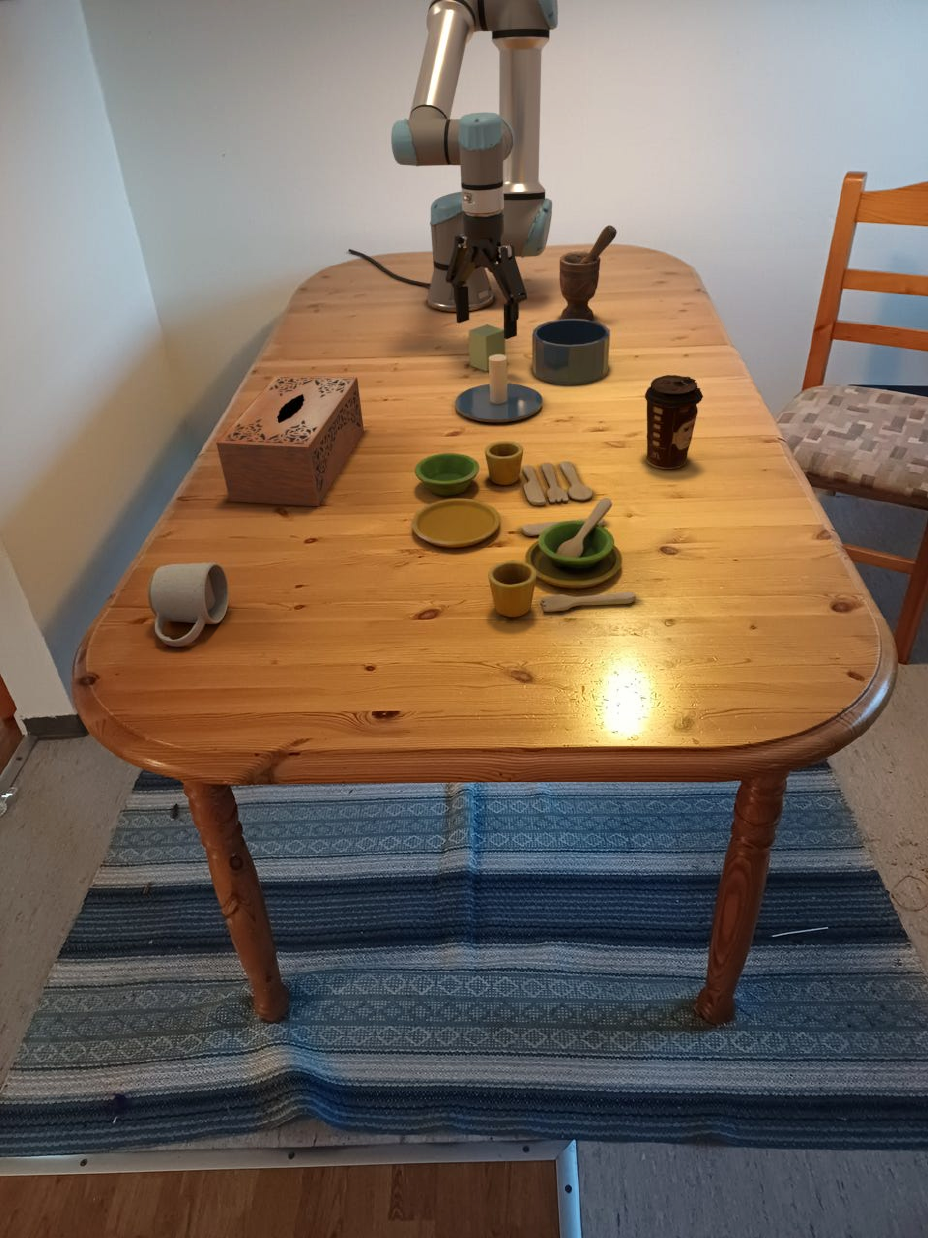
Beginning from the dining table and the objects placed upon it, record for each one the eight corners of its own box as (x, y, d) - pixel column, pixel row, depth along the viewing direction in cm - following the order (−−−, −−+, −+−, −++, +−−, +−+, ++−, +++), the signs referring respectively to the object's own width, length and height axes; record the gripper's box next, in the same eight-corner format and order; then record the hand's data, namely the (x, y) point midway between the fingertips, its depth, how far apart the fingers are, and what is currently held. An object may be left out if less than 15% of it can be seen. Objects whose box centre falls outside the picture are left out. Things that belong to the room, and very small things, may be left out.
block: (469, 365, 179) (468, 330, 175) (488, 358, 182) (487, 323, 177) (486, 371, 176) (485, 336, 172) (505, 364, 179) (504, 329, 174)
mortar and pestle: (611, 312, 200) (616, 217, 188) (611, 326, 193) (617, 228, 181) (558, 313, 201) (560, 218, 189) (558, 326, 194) (559, 229, 182)
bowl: (516, 371, 176) (516, 333, 171) (568, 350, 183) (569, 313, 179) (571, 391, 167) (572, 352, 162) (623, 368, 174) (626, 330, 170)
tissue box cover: (318, 506, 137) (308, 446, 131) (230, 501, 140) (216, 442, 133) (364, 431, 157) (357, 377, 151) (286, 428, 160) (276, 374, 153)
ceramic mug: (175, 597, 119) (160, 549, 115) (234, 599, 118) (221, 551, 114) (143, 649, 111) (126, 599, 106) (207, 651, 110) (192, 602, 105)
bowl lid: (437, 407, 164) (434, 358, 158) (500, 381, 172) (499, 334, 166) (497, 433, 154) (495, 382, 149) (560, 405, 162) (561, 355, 157)
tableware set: (644, 610, 113) (648, 568, 109) (424, 633, 111) (420, 591, 107) (576, 459, 145) (577, 423, 141) (405, 475, 144) (402, 439, 140)
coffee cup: (698, 452, 145) (707, 375, 138) (691, 475, 139) (700, 397, 131) (644, 446, 148) (650, 370, 140) (635, 469, 142) (641, 391, 134)
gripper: (422, 205, 167) (430, 319, 180) (516, 226, 152) (517, 349, 165) (453, 198, 171) (458, 310, 184) (547, 218, 156) (545, 338, 168)
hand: (486, 329), depth 174 cm, fingers open, 13 cm apart
